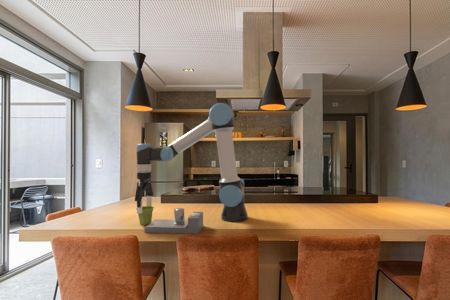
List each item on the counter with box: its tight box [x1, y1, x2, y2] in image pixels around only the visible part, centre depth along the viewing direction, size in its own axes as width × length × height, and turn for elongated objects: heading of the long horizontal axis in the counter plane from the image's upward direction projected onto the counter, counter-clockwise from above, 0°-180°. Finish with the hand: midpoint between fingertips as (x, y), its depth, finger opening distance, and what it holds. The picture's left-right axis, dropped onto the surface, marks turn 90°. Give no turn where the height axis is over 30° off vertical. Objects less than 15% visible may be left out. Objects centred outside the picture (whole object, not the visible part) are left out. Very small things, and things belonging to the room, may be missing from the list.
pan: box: [146, 218, 188, 228], centre depth 160 cm, size 20×12×1 cm, turn 83°
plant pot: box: [135, 205, 155, 226], centre depth 172 cm, size 9×9×9 cm
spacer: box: [173, 207, 186, 224], centre depth 160 cm, size 5×5×7 cm
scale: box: [144, 211, 204, 235], centre depth 160 cm, size 27×13×8 cm, turn 83°
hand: (144, 210), depth 172 cm, fingers open, 13 cm apart
